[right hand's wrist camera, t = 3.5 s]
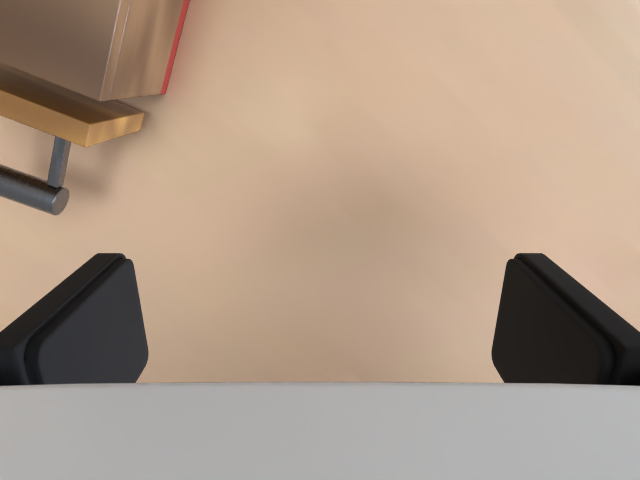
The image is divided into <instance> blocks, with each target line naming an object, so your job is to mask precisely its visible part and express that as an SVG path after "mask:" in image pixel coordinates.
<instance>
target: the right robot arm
mask: <svg viewBox="0 0 640 480" xmlns="http://www.w3.org/2000/svg"><path fill="white" fill-rule="evenodd" d="M147 360H148V346H147V340H146V334H145V328H144V323H143V317H142V311H141V305H140V299H139V293H138V288H137V282H136V276H135V270H134V265H133V262H132V260H130V259H126V257H125V256H124V255H123V254H121V253H98V254H96V255H95V256H93V257H92V258H91V259H90V260H88V261H87V262H86V263H85V264H84V265H82V266H81V267H80V268H79V269H77V270H76V271H75V272H74V273H72V274H71V275H70V276H69V277H68V278H66V279H65V280H64V281H63V282H61V283H60V284H59V285H58V286H56V287H55V288H54V289H53V290H52V291H50V292H49V293H48V294H47V295H45V296H44V297H43V298H42V299H40V300H39V301H38V302H37V303H36V304H34V305H33V306H32V307H31V308H29V309H28V310H27V311H26V312H24V313H23V314H22V315H21V316H20V317H18V318H17V319H16V320H15V321H13V322H12V323H11V324H10V325H8V326H7V327H6V328H5V329H4V330H2V331H1V332H0V480H640V332H639V331H638V330H636V329H635V328H634V327H633V326H632V325H630V324H629V323H628V322H627V321H625V320H624V319H623V318H622V317H620V316H619V315H618V314H617V313H616V312H614V311H613V310H612V309H611V308H609V307H608V306H607V305H606V304H604V303H603V302H602V301H601V300H600V299H598V298H597V297H596V296H595V295H593V294H592V293H591V292H590V291H588V290H587V289H586V288H585V287H584V286H582V285H581V284H580V283H579V282H577V281H576V280H575V279H574V278H572V277H571V276H570V275H569V274H568V273H566V272H565V271H564V270H563V269H561V268H560V267H559V266H558V265H556V264H555V263H554V262H553V261H552V260H550V259H549V258H548V257H547V256H545V255H544V254H542V253H519V254H517V255H516V256H515V257H514V259H510V260H508V262H507V265H506V270H505V276H504V282H503V288H502V293H501V299H500V305H499V311H498V317H497V323H496V328H495V334H494V340H493V346H492V360H493V364H494V366H495V368H496V369H497V371H498V373H499V374H500V376H501V378H502V379H503V381H504V383H436V382H193V383H136V381H137V379H138V378H139V376H140V374H141V373H142V371H143V369H144V368H145V366H146V364H147Z"/></svg>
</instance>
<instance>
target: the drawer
mask: <svg viewBox="0 0 640 480" xmlns="http://www.w3.org/2000/svg"><path fill="white" fill-rule="evenodd" d="M0 115H1V116H4V117H6V118H9V119H12V120H14V121H17V122H20V123H22V124H25V125H27V126H30V127H33V128H35V129H38V130H41V131H43V132H46V133H49V134H51V135H54V136H55V141H54V147H53V153H52V158H51V164H50V169H49V175H48V181H45V180H43V179H40V178H37V177H34V176H31V175H29V174H26V173H23V172H20V171H18V170H15V169H12V168H9V167H7V166H4V165H1V164H0V196H1V197H4V198H7V199H10V200H13V201H15V202H18V203H21V204H24V205H27V206H30V207H32V208H35V209H38V210H41V211H44V212H47V213H50V214H52V215H58V214H60V213H61V212H62V211H63V210H64V208H65V206H66V204H67V202H68V199H69V191H68V189H67V188H65V187H62V186H63V182H64V177H65V172H66V166H67V161H68V156H69V151H70V146H71V142H73V143H75V144H78V145H81V146H83V147H88V146H91V145H95V144H98V143H101V142H104V141H108V140H111V139H114V138H117V137H120V136H124V135H127V134H130V133H133V132H136V131H140V130H141V126H142V122H143V118H144V112H142V111H139V110H137V109H134V108H132V107H129V106H127V105H124V104H122V103H119V102H117V101H114V100H106V101H97V100H94V99H92V98H89V97H87V96H84V95H82V94H79V93H77V92H74V91H71V90H69V89H66V88H64V87H61V86H59V85H56V84H54V83H51V82H48V81H46V80H43V79H41V78H38V77H36V76H33V75H31V74H28V73H25V72H23V71H20V70H18V69H15V68H13V67H10V66H8V65H5V64H2V63H0Z"/></svg>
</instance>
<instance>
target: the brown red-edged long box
mask: <svg viewBox="0 0 640 480" xmlns="http://www.w3.org/2000/svg"><path fill="white" fill-rule="evenodd" d="M188 4H189V0H0V63H2V64H5V65H8V66H10V67H13V68H15V69H18V70H20V71H23V72H25V73H28V74H31V75H33V76H36V77H38V78H41V79H43V80H46V81H48V82H51V83H54V84H56V85H59V86H61V87H64V88H66V89H69V90H71V91H74V92H77V93H79V94H82V95H84V96H87V97H89V98H92V99H94V100H97V101H106V100H115V99H123V98H131V97H139V96H148V95H156V94H165V93H166V89H167V85H168V82H169V78H170V74H171V70H172V66H173V62H174V58H175V54H176V51H177V47H178V43H179V39H180V35H181V31H182V27H183V23H184V20H185V16H186V12H187V8H188Z"/></svg>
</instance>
